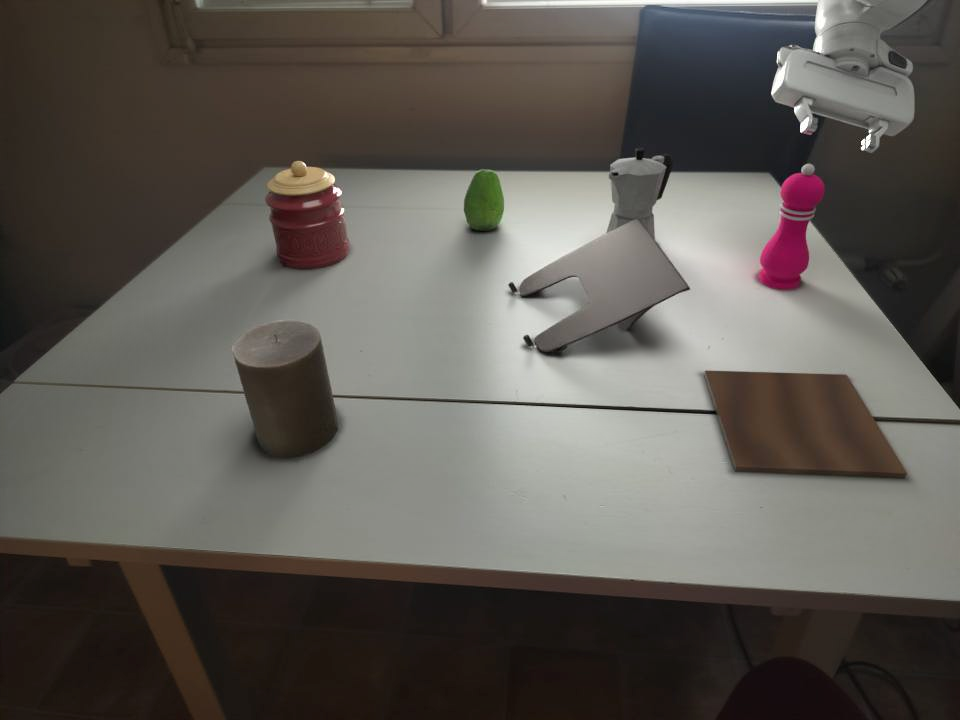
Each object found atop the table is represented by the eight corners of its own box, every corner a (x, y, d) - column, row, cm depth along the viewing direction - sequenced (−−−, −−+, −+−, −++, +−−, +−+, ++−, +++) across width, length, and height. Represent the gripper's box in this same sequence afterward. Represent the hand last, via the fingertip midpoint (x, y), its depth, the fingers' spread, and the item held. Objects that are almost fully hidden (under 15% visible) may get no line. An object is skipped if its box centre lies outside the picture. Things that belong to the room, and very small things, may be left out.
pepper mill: (802, 297, 106) (838, 174, 94) (754, 291, 108) (783, 170, 96) (800, 276, 111) (834, 158, 100) (754, 271, 113) (782, 154, 102)
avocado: (511, 233, 128) (511, 172, 121) (473, 241, 126) (471, 179, 119) (494, 218, 134) (493, 159, 127) (458, 225, 132) (455, 165, 125)
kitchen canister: (300, 238, 128) (282, 147, 118) (362, 245, 125) (349, 151, 115) (265, 269, 118) (242, 171, 108) (331, 277, 115) (314, 177, 105)
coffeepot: (622, 266, 116) (633, 164, 105) (584, 247, 122) (591, 149, 112) (681, 242, 123) (697, 144, 113) (643, 225, 129) (654, 132, 119)
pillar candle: (346, 449, 79) (326, 345, 71) (262, 471, 77) (231, 365, 68) (331, 402, 87) (312, 302, 78) (254, 420, 84) (225, 319, 75)
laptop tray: (528, 314, 115) (504, 273, 109) (652, 252, 110) (634, 206, 105) (554, 397, 96) (526, 352, 91) (705, 326, 91) (685, 274, 86)
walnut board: (843, 383, 87) (846, 374, 86) (902, 483, 73) (907, 473, 72) (703, 379, 89) (704, 370, 88) (733, 476, 74) (736, 466, 73)
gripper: (792, 25, 94) (784, 106, 90) (923, 66, 96) (921, 147, 92) (767, 56, 100) (758, 133, 96) (891, 94, 102) (888, 171, 98)
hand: (839, 140), depth 94 cm, fingers open, 8 cm apart
